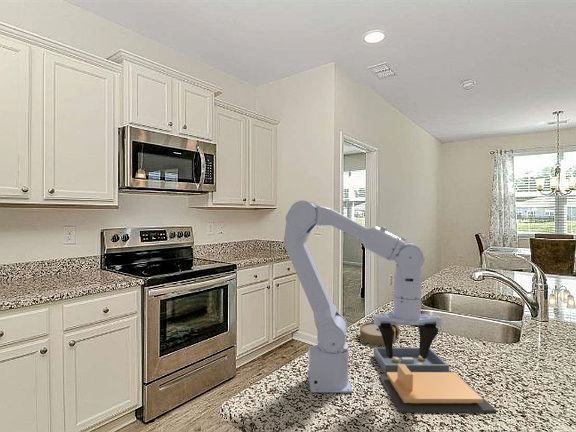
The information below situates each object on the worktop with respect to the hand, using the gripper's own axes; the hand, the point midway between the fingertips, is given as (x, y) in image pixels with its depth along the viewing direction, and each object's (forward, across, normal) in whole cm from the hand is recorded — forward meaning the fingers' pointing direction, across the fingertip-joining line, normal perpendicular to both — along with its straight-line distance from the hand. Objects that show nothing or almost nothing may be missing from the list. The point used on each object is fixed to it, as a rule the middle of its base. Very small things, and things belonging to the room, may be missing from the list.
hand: (406, 356), depth 75 cm
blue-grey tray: (+8, +6, +14) cm, 17 cm away
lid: (+7, +6, 0) cm, 9 cm away
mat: (+8, +6, 0) cm, 10 cm away
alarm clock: (+9, +4, +34) cm, 36 cm away
